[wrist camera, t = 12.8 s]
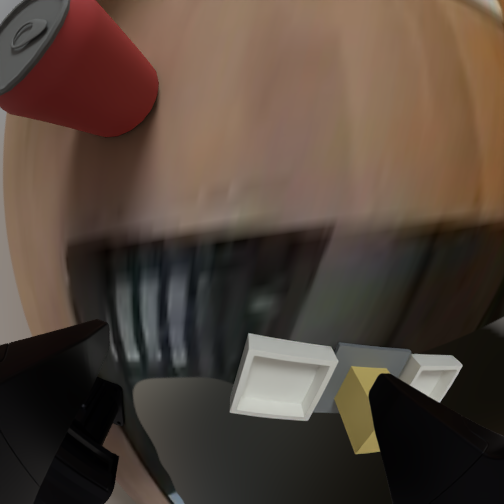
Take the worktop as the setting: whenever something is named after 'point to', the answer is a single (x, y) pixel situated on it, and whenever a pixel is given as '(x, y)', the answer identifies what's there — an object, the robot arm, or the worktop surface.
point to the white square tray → (430, 373)
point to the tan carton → (358, 408)
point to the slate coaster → (359, 358)
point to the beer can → (73, 68)
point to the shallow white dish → (281, 378)
